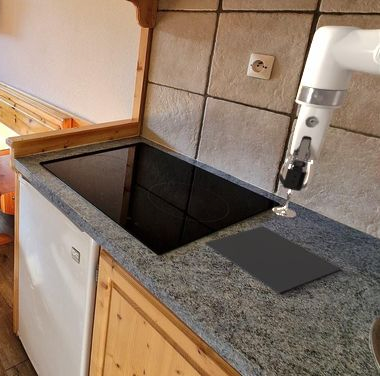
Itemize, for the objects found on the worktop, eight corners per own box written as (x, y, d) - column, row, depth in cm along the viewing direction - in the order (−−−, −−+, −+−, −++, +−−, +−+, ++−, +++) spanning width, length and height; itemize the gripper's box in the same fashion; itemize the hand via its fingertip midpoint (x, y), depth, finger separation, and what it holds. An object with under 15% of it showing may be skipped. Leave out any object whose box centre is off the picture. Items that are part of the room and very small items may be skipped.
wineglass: (275, 203, 90) (290, 152, 85) (303, 212, 87) (321, 160, 82) (264, 211, 87) (279, 158, 82) (293, 221, 83) (311, 167, 78)
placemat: (340, 270, 89) (341, 268, 89) (279, 294, 81) (279, 292, 81) (262, 227, 105) (262, 225, 105) (204, 243, 97) (205, 242, 97)
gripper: (343, 108, 68) (311, 203, 76) (344, 92, 81) (316, 174, 88) (292, 101, 72) (266, 193, 79) (301, 87, 85) (278, 167, 92)
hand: (293, 182), depth 84 cm, fingers closed on wineglass, 5 cm apart
